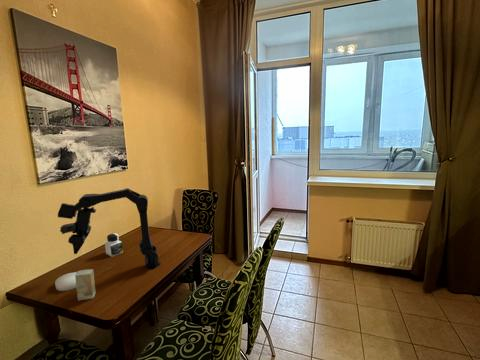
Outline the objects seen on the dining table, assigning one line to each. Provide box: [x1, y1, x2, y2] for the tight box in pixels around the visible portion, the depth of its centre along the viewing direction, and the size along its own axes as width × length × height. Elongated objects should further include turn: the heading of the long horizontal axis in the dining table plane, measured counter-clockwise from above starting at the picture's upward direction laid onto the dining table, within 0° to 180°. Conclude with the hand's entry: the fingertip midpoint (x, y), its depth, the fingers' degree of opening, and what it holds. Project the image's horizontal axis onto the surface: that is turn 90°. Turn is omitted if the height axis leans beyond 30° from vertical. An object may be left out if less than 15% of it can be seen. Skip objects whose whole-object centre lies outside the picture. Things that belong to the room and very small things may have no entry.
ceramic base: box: [54, 271, 78, 292], centre depth 124 cm, size 11×11×3 cm
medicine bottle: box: [104, 232, 124, 257], centre depth 155 cm, size 7×7×12 cm
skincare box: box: [75, 268, 97, 301], centre depth 114 cm, size 6×4×12 cm
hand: (77, 249), depth 127 cm, fingers open, 9 cm apart
